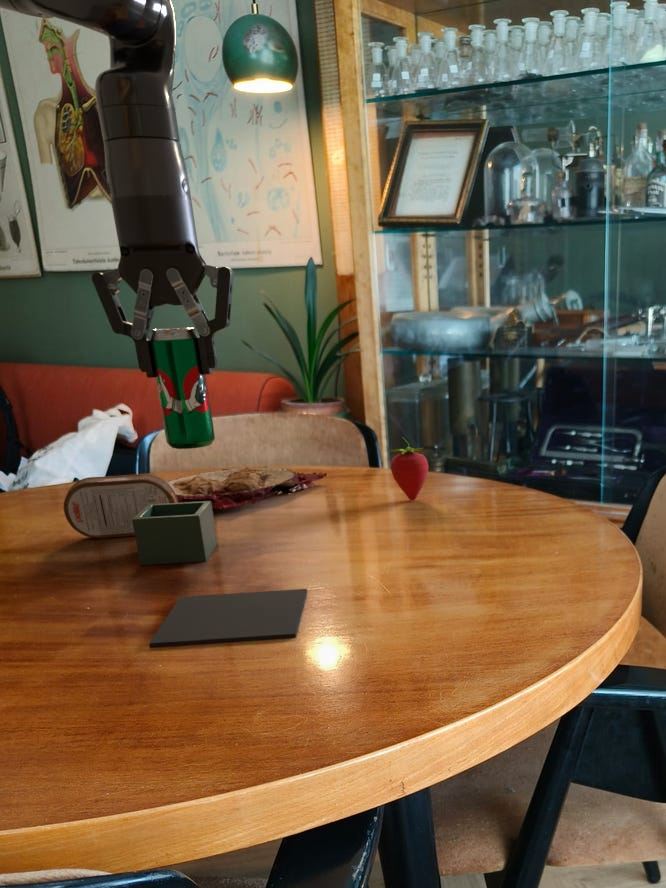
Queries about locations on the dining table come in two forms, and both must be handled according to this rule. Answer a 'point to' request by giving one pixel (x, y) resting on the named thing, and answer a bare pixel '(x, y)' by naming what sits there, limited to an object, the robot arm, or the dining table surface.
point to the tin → (113, 503)
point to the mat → (232, 618)
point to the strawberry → (409, 470)
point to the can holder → (175, 533)
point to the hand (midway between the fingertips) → (180, 374)
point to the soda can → (181, 388)
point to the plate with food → (239, 485)
